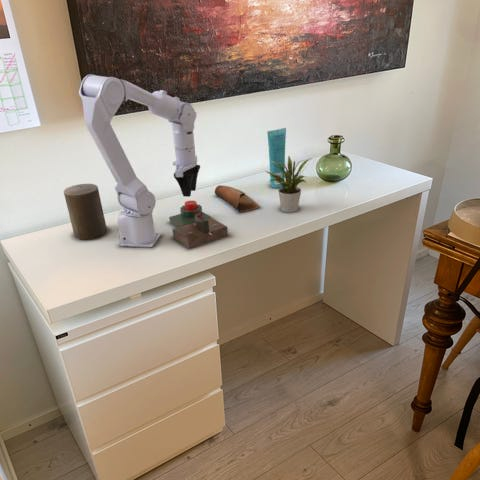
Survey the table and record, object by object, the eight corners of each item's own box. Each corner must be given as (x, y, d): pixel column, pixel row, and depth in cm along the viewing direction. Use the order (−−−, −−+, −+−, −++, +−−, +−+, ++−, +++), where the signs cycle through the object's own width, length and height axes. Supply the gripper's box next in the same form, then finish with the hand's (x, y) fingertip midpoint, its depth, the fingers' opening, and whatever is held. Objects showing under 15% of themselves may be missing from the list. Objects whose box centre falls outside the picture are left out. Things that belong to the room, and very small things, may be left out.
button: (188, 212, 150) (188, 205, 149) (183, 208, 153) (182, 202, 152) (199, 209, 152) (198, 202, 151) (193, 205, 155) (192, 199, 153)
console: (192, 251, 137) (191, 240, 135) (173, 238, 144) (172, 228, 142) (231, 238, 142) (231, 227, 141) (211, 226, 150) (210, 216, 148)
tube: (280, 181, 180) (280, 126, 169) (289, 185, 177) (290, 128, 166) (264, 186, 176) (263, 130, 165) (273, 190, 173) (273, 132, 162)
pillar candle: (99, 240, 145) (88, 190, 136) (68, 239, 147) (55, 190, 138) (112, 227, 153) (102, 178, 144) (82, 226, 154) (71, 178, 146)
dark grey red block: (209, 231, 139) (208, 219, 137) (204, 233, 139) (203, 220, 137) (200, 225, 143) (199, 212, 141) (195, 226, 143) (194, 214, 141)
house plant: (295, 196, 167) (296, 146, 158) (323, 208, 157) (325, 156, 148) (260, 206, 161) (259, 155, 152) (287, 220, 151) (287, 166, 142)
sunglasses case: (261, 206, 160) (251, 191, 155) (245, 220, 160) (234, 206, 155) (236, 190, 173) (226, 175, 169) (221, 203, 173) (211, 189, 169)
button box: (182, 231, 148) (181, 218, 146) (168, 222, 154) (167, 210, 152) (211, 222, 152) (210, 210, 150) (196, 214, 158) (195, 202, 156)
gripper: (179, 139, 149) (184, 184, 156) (162, 154, 137) (168, 201, 145) (202, 140, 147) (205, 185, 155) (186, 154, 136) (191, 202, 143)
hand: (189, 193), depth 150 cm, fingers open, 4 cm apart
